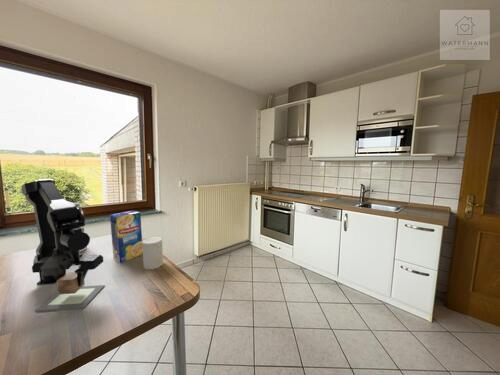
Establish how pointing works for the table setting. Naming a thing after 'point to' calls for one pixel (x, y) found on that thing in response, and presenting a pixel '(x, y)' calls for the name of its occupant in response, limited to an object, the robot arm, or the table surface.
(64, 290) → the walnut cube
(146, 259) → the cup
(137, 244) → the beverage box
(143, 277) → the table surface
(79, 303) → the rest pad
